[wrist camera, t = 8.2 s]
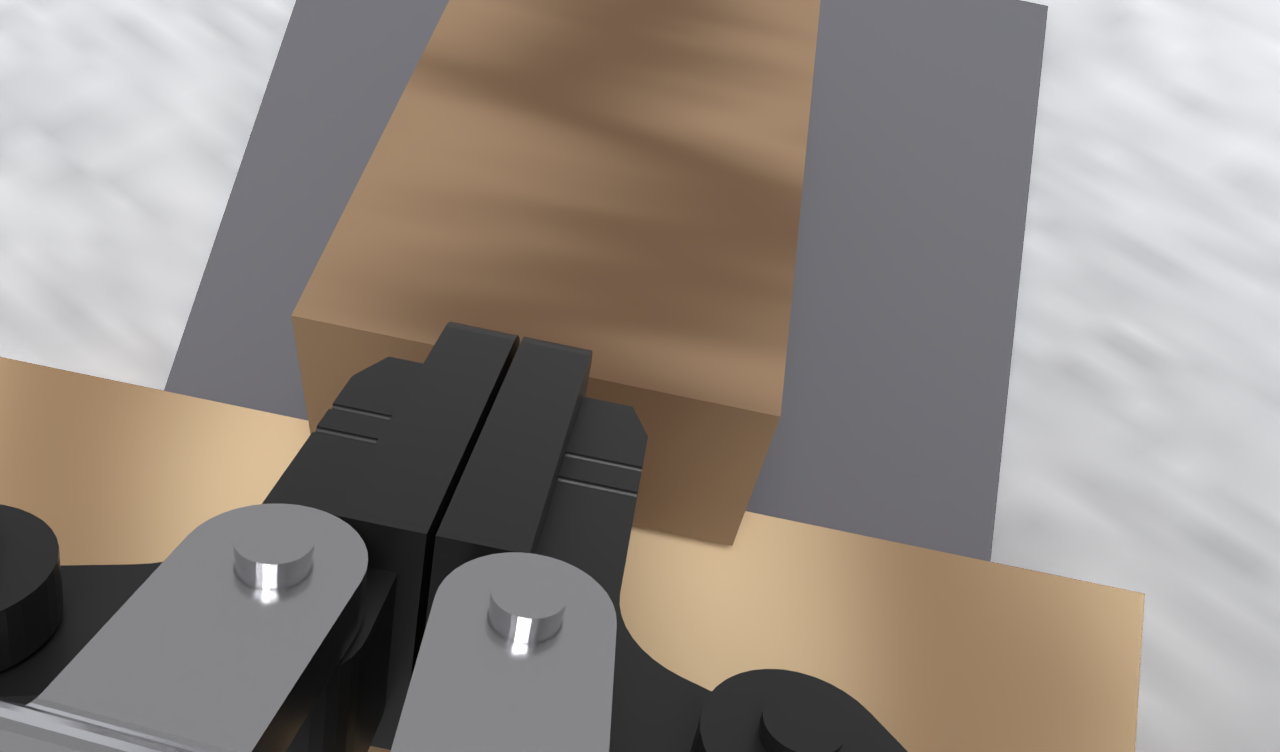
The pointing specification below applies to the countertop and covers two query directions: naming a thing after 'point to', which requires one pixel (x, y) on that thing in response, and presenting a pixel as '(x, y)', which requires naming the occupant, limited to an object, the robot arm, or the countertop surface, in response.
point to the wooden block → (640, 576)
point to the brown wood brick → (593, 221)
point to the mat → (825, 258)
